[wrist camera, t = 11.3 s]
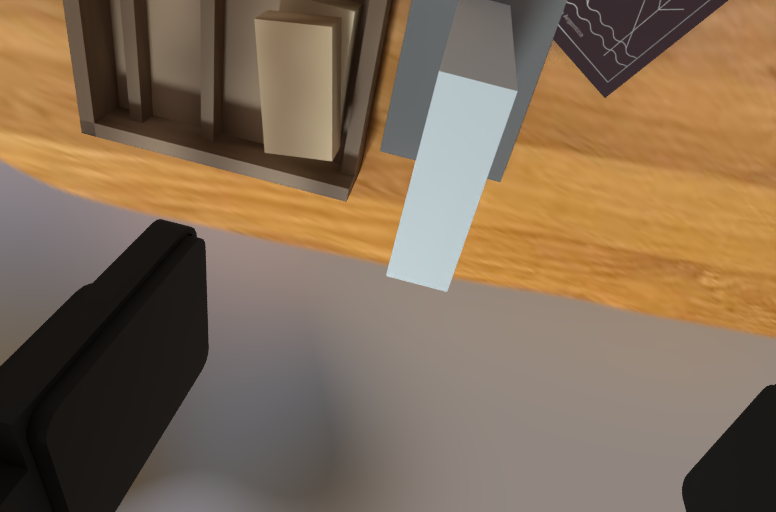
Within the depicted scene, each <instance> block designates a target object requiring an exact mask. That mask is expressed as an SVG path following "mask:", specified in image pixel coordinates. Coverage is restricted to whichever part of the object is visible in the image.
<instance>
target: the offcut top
mask: <svg viewBox="0 0 776 512" xmlns="http://www.w3.org/2000/svg"><path fill="white" fill-rule="evenodd" d="M254 21H255V34H256V47H257V60H258V73H259V86H260V99H261V112H262V125H263V138H264V151H265V153H271V154H278V155H286V156H294V157H302V158H310V159H317V160H325V161H333V159H334V157H335V155H336V154H337V152H338V150H339V148H340V138H341V38H342V18H341V17H332V16H322V15H312V14H303V13H293V12H283V11H274V10H267V11H266V12H264V13H263V14H261V15H259V16H258V17H256V18H255V19H254Z"/></svg>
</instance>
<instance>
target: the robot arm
mask: <svg viewBox="0 0 776 512" xmlns="http://www.w3.org/2000/svg"><path fill="white" fill-rule="evenodd" d="M206 283H207V282H206V250H205V242H204V240H203V239H201V238H197V235H196V231H195V229H194V228H192V227H189V226H185V225H181V224H178V223H174V222H170V221H166V220H162V219H159V220H156V221H155V222H153V223H152V224H151V225H150V226H149V227H148V228H147V229H146V230H145V231H144V232H143V233H142V234H141V235H140V236H139V237H138V238H137V239H136V240H135V241H134V242H133V243H132V244H131V245H130V246H129V247H128V248H127V249H126V250H125V251H124V252H123V253H122V254H121V255H120V256H119V257H118V258H117V259H116V260H115V261H114V262H113V263H112V264H111V265H110V266H109V267H108V268H107V269H106V270H105V271H104V272H103V273H102V274H101V275H100V276H99V277H98V278H97V280H95V281H94V282H93V283H92V284H88V285H85V286H83V287H82V288H81V289H79V290H78V291H77V292H75V293H74V294H73V295H72V296H71V297H70V299H68V300H67V301H66V302H65V303H64V304H63V305H62V306H61V307H60V308H59V309H58V310H57V311H56V312H55V313H54V314H53V315H52V316H51V317H50V318H49V319H48V320H47V321H46V322H45V323H44V324H43V325H42V326H41V327H40V328H39V329H38V330H37V331H36V332H35V333H34V334H33V335H32V336H31V337H30V338H29V339H28V340H27V341H26V342H25V343H24V344H23V345H22V346H21V347H20V348H19V349H18V350H17V351H16V352H15V353H14V354H12V356H10V357H9V359H7V360H6V361H5V362H4V363H3V364H2V365H1V366H0V512H115V511H116V510H117V508H118V506H119V505H120V503H121V502H122V500H123V498H124V497H125V495H126V493H127V492H128V490H129V488H130V487H131V485H132V483H133V482H134V480H135V479H136V477H137V475H138V474H139V472H140V470H141V469H142V467H143V466H144V464H145V462H146V461H147V459H148V457H149V456H150V454H151V453H152V451H153V449H154V448H155V446H156V444H157V443H158V441H159V439H160V438H161V436H162V434H163V433H164V431H165V429H166V428H167V426H168V425H169V423H170V421H171V420H172V418H173V416H174V415H175V413H176V412H177V410H178V408H179V407H180V405H181V403H182V402H183V400H184V399H185V397H186V395H187V394H188V392H189V390H190V389H191V387H192V386H193V384H194V382H195V381H196V379H197V377H198V376H199V374H200V373H201V371H202V369H203V367H204V365H205V363H206V360H207V356H208V349H209V345H208V314H207V284H206ZM682 496H683V501H684V504H685V508H686V512H776V384H775V385H769V386H767V387H765V388H764V389H763V390H762V391H761V392H760V394H759V395H758V396H757V397H756V398H755V399H754V400H753V401H752V403H750V405H749V406H748V407H747V408H746V409H745V410H744V411H743V413H742V414H741V415H740V416H739V417H738V418H737V419H736V420H735V421H734V423H733V424H732V425H731V426H730V427H729V428H728V429H727V431H725V433H724V434H723V435H722V436H721V437H720V438H719V439H718V440H717V442H716V443H715V444H714V445H713V446H712V447H711V448H710V449H709V451H708V452H707V453H706V454H705V455H704V456H703V457H702V458H701V460H700V461H699V462H698V463H697V464H696V465H695V466H694V467H693V468H692V470H691V471H690V472H689V473H688V474H687V476H686V477H685V479H684V482H683V487H682Z"/></svg>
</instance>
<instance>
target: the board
mask: <svg viewBox="0 0 776 512" xmlns="http://www.w3.org/2000/svg"><path fill="white" fill-rule="evenodd" d="M517 92H518V90H517V78H516V66H515V54H514V42H513V30H512V18H511V6H510V5H507V4H503V3H499V2H495V1H491V0H459V1H458V5H457V8H456V12H455V15H454V19H453V23H452V26H451V30H450V33H449V37H448V41H447V44H446V48H445V51H444V55H443V58H442V62H441V66H440V69H439V73H438V77H437V81H436V84H435V88H434V92H433V96H432V100H431V104H430V108H429V112H428V115H427V119H426V123H425V127H424V131H423V135H422V139H421V143H420V146H419V150H418V154H417V158H416V162H415V166H414V170H413V174H412V177H411V181H410V185H409V189H408V193H407V197H406V201H405V205H404V208H403V212H402V216H401V220H400V224H399V228H398V232H397V235H396V239H395V243H394V247H393V251H392V255H391V259H390V263H389V266H388V270H387V274H386V276H388V277H392V278H396V279H400V280H404V281H407V282H411V283H415V284H419V285H423V286H426V287H430V288H434V289H438V290H442V291H445V292H447V290H448V287H449V285H450V282H451V279H452V276H453V273H454V271H455V268H456V265H457V262H458V259H459V256H460V254H461V251H462V248H463V245H464V242H465V239H466V237H467V234H468V231H469V228H470V225H471V222H472V219H473V217H474V214H475V211H476V208H477V205H478V202H479V200H480V197H481V194H482V191H483V188H484V185H485V183H486V180H487V177H488V174H489V171H490V168H491V166H492V163H493V160H494V157H495V154H496V151H497V148H498V146H499V143H500V140H501V137H502V134H503V131H504V129H505V126H506V123H507V120H508V117H509V114H510V112H511V109H512V106H513V103H514V100H515V97H516V95H517Z"/></svg>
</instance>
